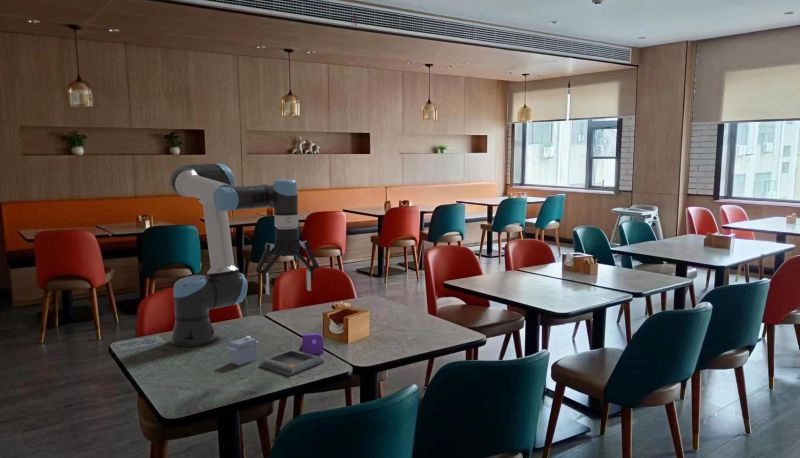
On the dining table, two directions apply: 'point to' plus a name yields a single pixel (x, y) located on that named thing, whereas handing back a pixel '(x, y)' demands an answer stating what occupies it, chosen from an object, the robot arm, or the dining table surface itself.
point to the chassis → (290, 362)
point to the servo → (243, 350)
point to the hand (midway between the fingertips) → (288, 291)
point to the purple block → (312, 343)
